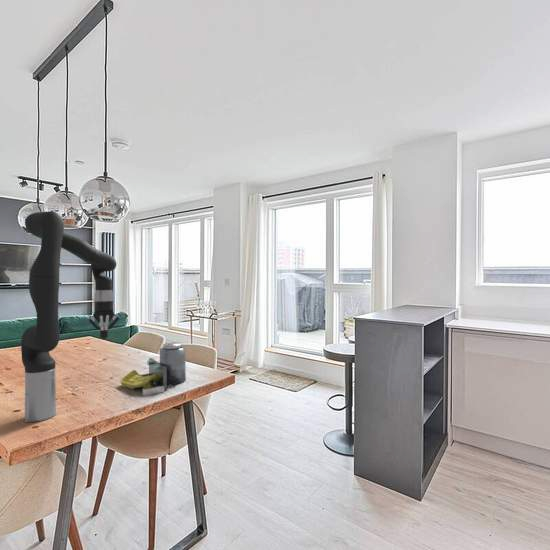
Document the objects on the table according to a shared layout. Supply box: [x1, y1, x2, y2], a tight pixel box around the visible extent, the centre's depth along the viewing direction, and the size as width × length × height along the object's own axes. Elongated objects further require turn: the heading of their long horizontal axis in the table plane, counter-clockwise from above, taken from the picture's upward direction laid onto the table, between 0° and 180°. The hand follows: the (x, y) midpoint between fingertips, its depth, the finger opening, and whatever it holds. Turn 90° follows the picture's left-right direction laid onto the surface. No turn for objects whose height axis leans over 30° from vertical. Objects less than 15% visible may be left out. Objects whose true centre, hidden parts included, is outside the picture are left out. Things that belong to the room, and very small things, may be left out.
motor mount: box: [138, 341, 187, 397], centre depth 162 cm, size 23×26×18 cm
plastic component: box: [119, 369, 157, 390], centre depth 157 cm, size 20×7×10 cm
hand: (103, 338), depth 153 cm, fingers closed
